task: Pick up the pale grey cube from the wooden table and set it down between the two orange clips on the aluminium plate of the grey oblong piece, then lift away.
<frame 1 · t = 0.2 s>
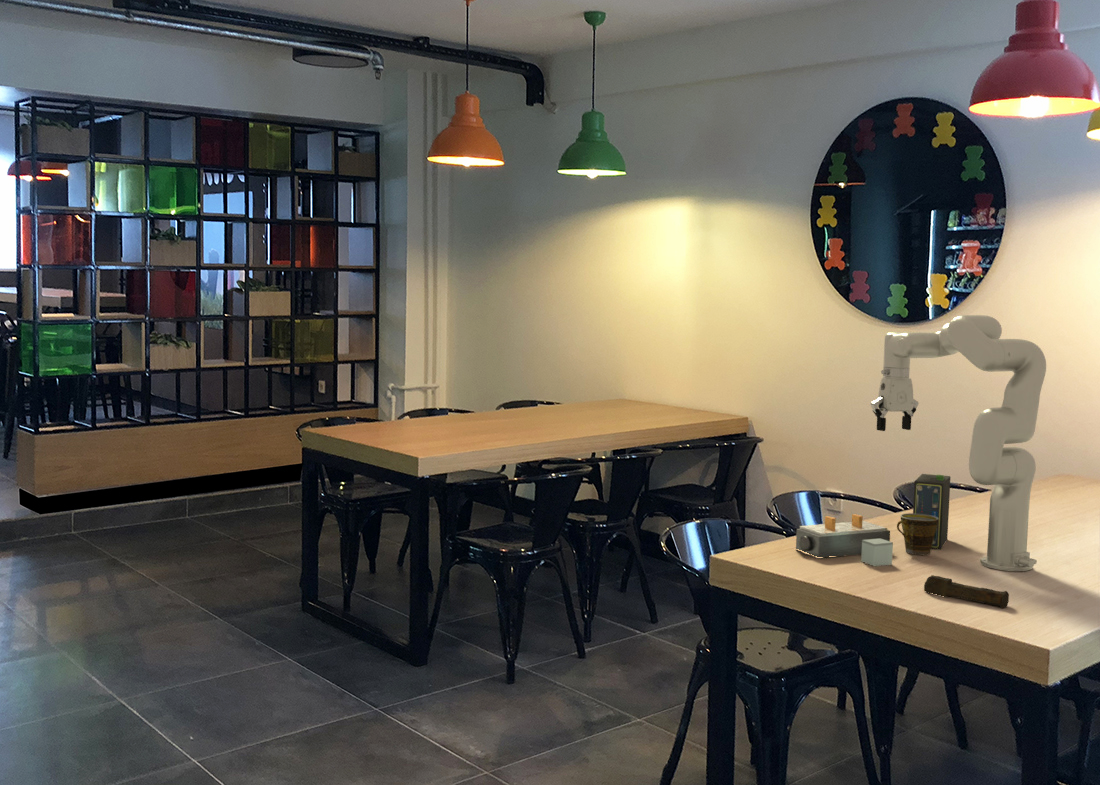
hand: (893, 429, 311), 31 cm above the table, tool pointing down, fingers open, 9 cm apart
dark grey box: (929, 543, 298), on the table
hand tool: (963, 602, 239), on the table
grey oblong piece: (842, 551, 286), on the table
pale grey cube: (876, 563, 273), on the table
ceramic cup: (913, 553, 286), on the table
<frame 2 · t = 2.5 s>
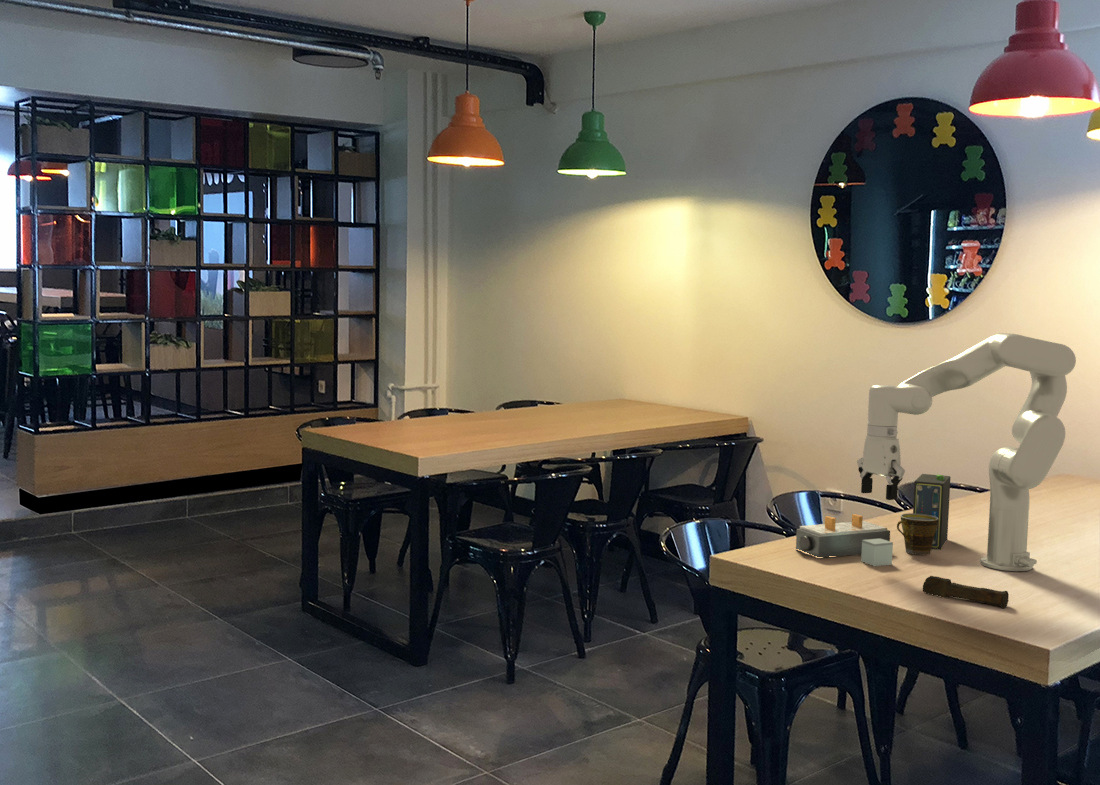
hand: (878, 496, 272), 18 cm above the table, tool pointing down, fingers open, 9 cm apart
nothing on the table moved.
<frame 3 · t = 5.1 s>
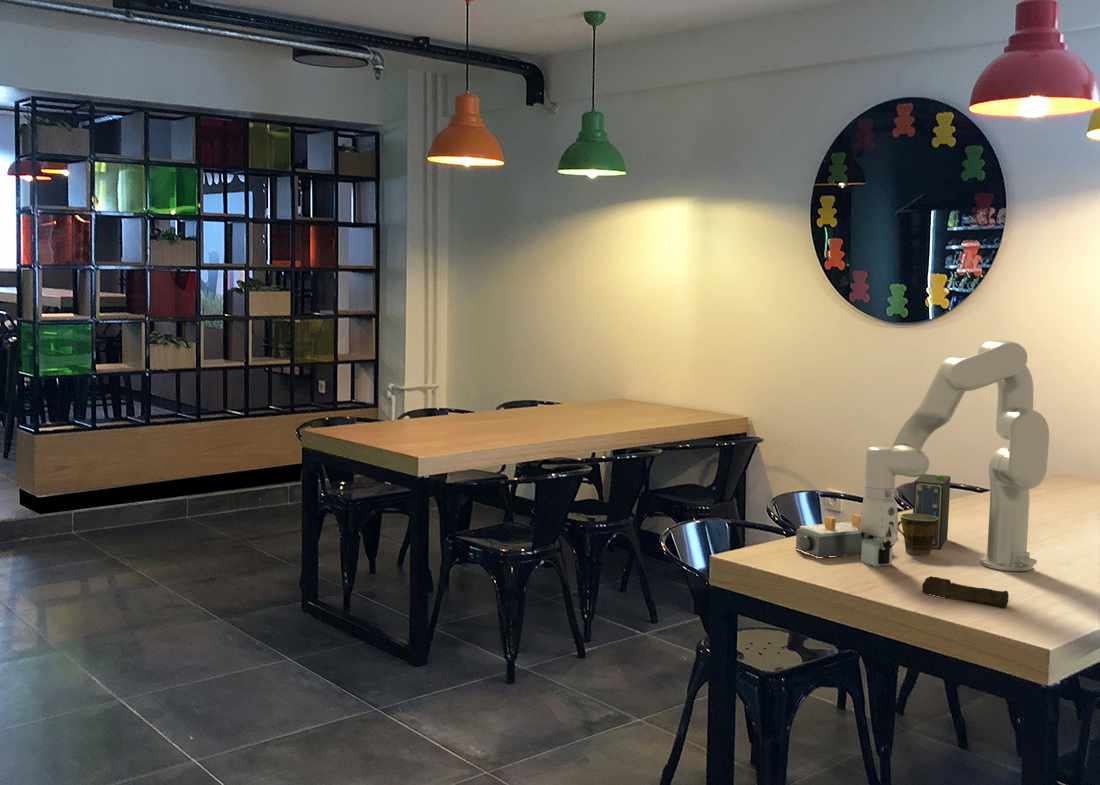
hand: (876, 560, 273), 1 cm above the table, tool pointing down, fingers closed on pale grey cube, 5 cm apart
pale grey cube: (876, 563, 273), on the table, touching gripper
everything else where it was.
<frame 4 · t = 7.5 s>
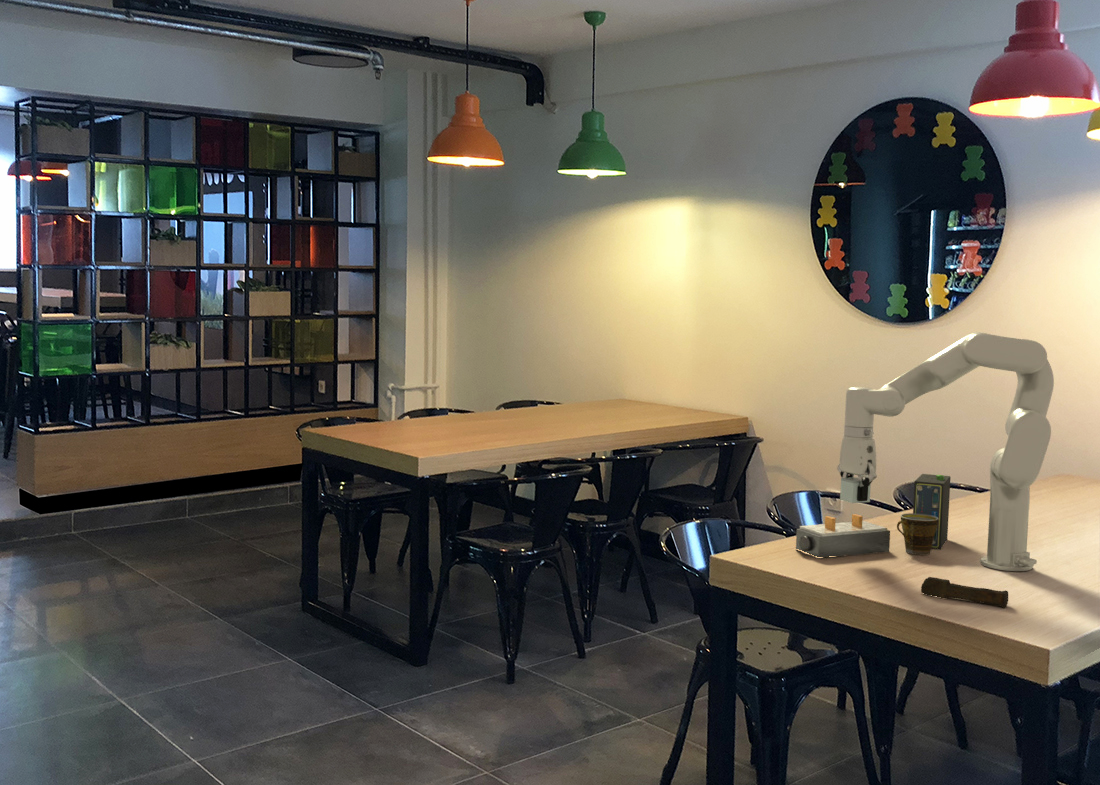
hand: (855, 498, 280), 16 cm above the table, tool pointing down, fingers closed on pale grey cube, 5 cm apart
pale grey cube: (854, 500, 280), point 15 cm above the table, touching gripper
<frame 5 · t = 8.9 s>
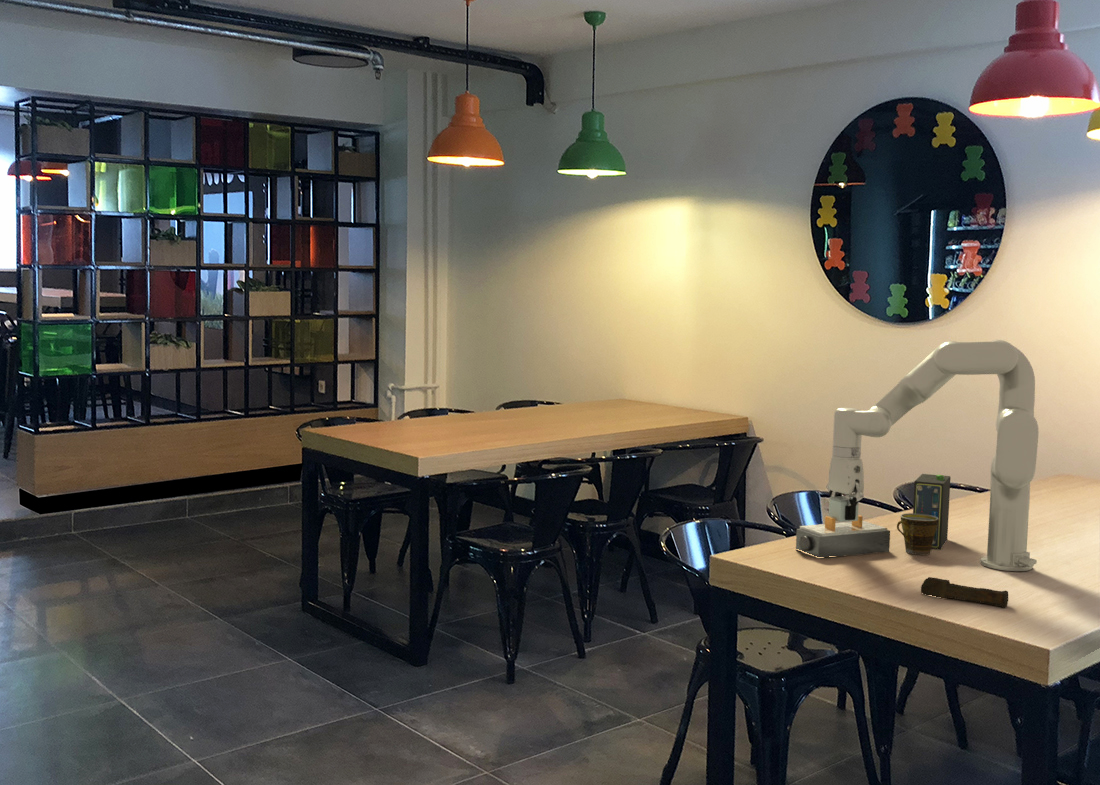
hand: (843, 516, 285), 10 cm above the table, tool pointing down, fingers closed on pale grey cube, 5 cm apart
pale grey cube: (843, 519, 285), point 9 cm above the table, touching gripper
everything else where it was.
when the fingers open (9 cm above the table, at t = 9.9 s): pale grey cube drops 1 cm, resting on grey oblong piece.
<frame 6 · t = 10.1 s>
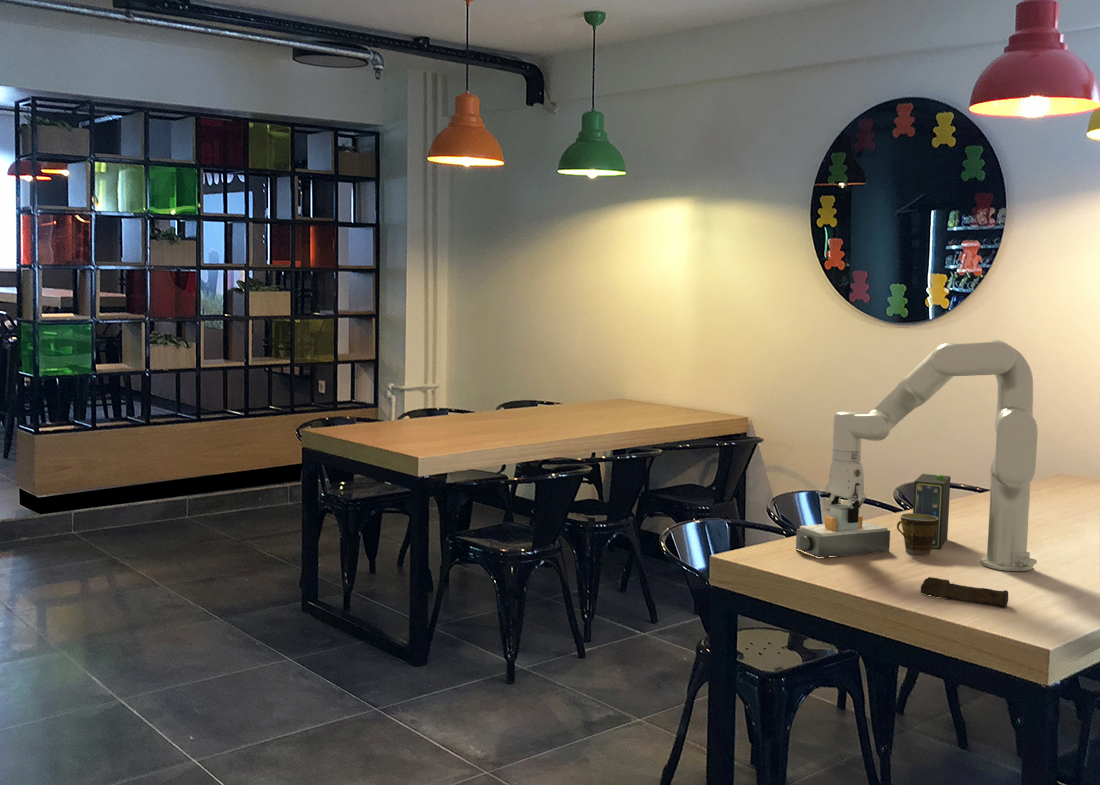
hand: (843, 519, 285), 9 cm above the table, tool pointing down, fingers open, 7 cm apart
pale grey cube: (843, 527, 285), point 7 cm above the table, touching grey oblong piece
everything else where it was.
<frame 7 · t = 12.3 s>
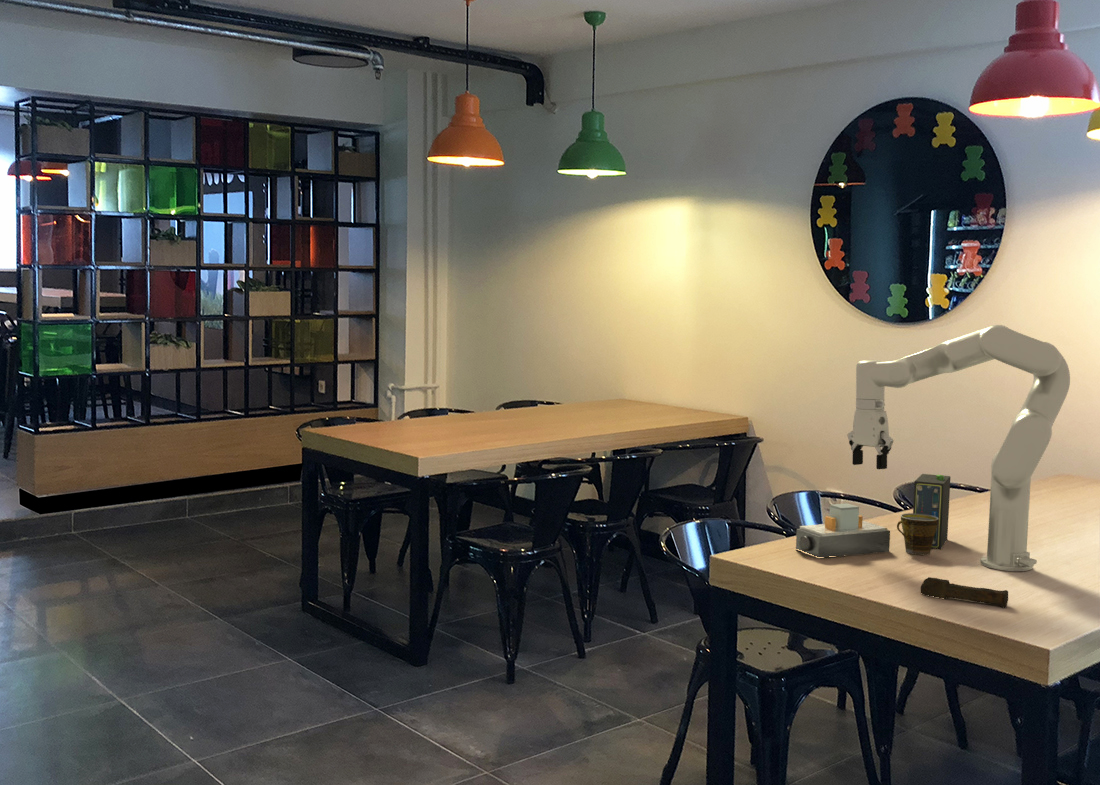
hand: (869, 466, 285), 24 cm above the table, tool pointing down, fingers open, 9 cm apart
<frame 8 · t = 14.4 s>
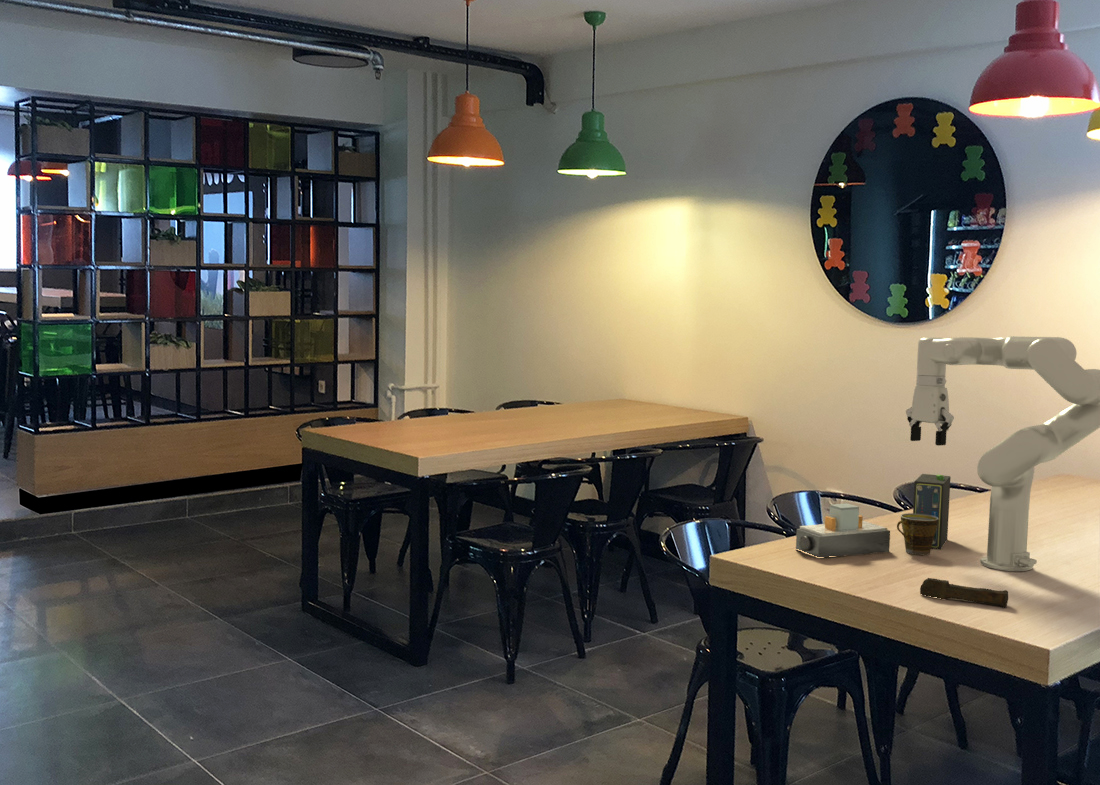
hand: (927, 442, 287), 30 cm above the table, tool pointing down, fingers open, 9 cm apart
at the end: pale grey cube 0.0 cm off-centre on the grey oblong piece, point 6.8 cm above the grey oblong piece's base; the gripper is holding nothing; pale grey cube tilted 0° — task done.
